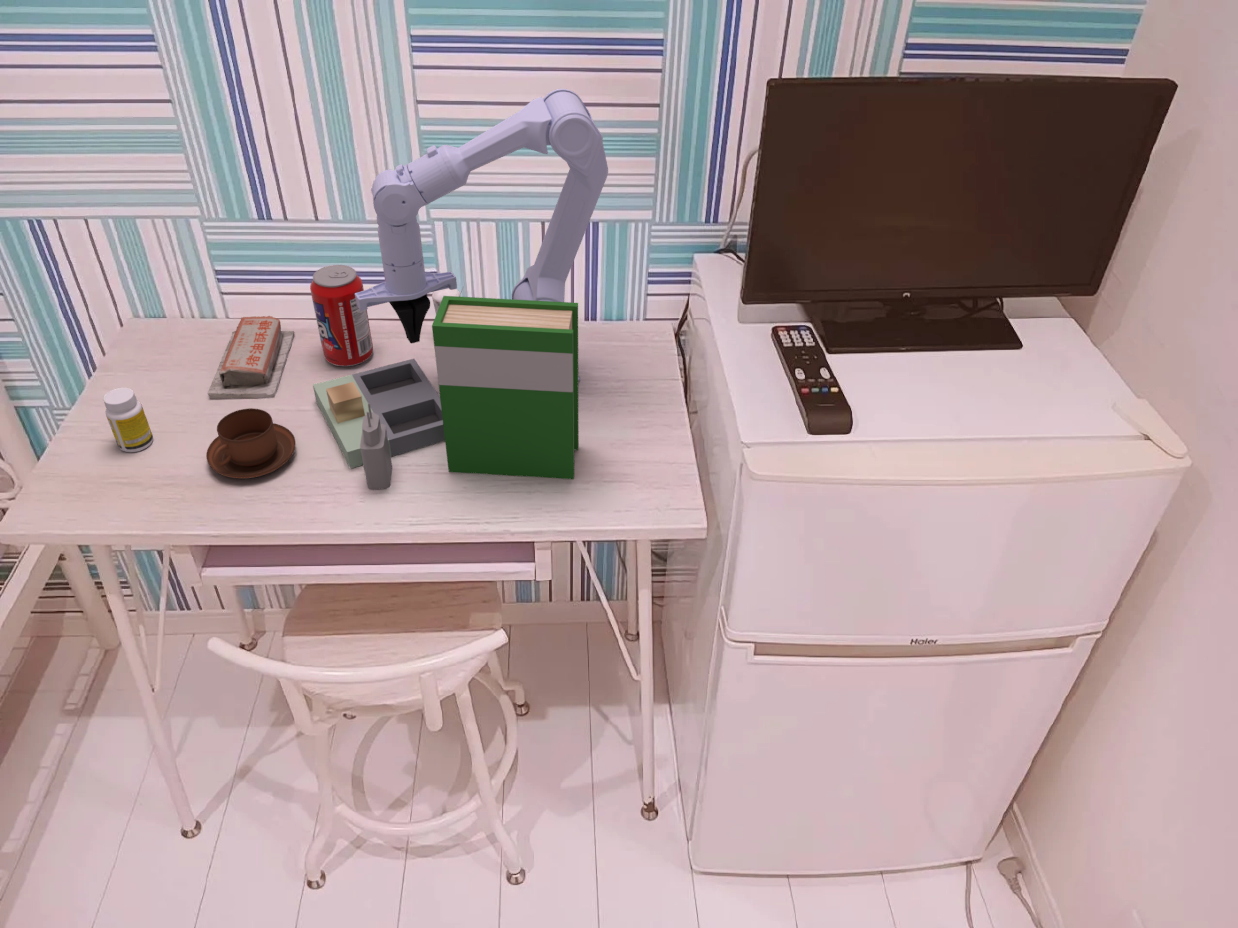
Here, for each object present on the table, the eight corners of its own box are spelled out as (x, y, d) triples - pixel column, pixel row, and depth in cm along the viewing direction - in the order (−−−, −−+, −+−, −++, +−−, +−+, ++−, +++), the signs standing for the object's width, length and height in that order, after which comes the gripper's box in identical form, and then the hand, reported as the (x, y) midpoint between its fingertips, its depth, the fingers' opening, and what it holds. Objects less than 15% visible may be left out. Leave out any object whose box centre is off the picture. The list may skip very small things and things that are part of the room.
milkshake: (463, 346, 163) (458, 293, 156) (432, 342, 164) (426, 289, 157) (472, 332, 166) (467, 280, 160) (441, 328, 167) (436, 276, 161)
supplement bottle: (161, 437, 143) (144, 390, 138) (138, 456, 139) (120, 408, 134) (133, 429, 144) (116, 382, 139) (111, 448, 141) (92, 401, 135)
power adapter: (366, 490, 135) (353, 420, 127) (370, 464, 139) (357, 396, 132) (390, 488, 135) (378, 419, 128) (392, 463, 140) (381, 395, 132)
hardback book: (578, 446, 144) (578, 302, 128) (573, 479, 138) (572, 333, 123) (458, 439, 144) (443, 295, 129) (448, 472, 139) (431, 325, 123)
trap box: (416, 374, 157) (414, 358, 155) (457, 437, 145) (455, 420, 143) (316, 400, 151) (312, 384, 149) (350, 468, 138) (347, 452, 137)
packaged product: (228, 313, 161) (290, 311, 162) (234, 338, 164) (295, 336, 165) (201, 376, 147) (269, 374, 148) (209, 402, 150) (275, 400, 151)
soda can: (373, 368, 157) (359, 286, 148) (322, 372, 156) (305, 289, 147) (374, 342, 163) (362, 260, 154) (326, 345, 162) (310, 263, 153)
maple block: (356, 401, 146) (353, 381, 143) (364, 415, 143) (361, 396, 141) (329, 408, 144) (325, 389, 142) (337, 423, 141) (333, 403, 139)
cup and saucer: (276, 491, 135) (266, 456, 131) (193, 480, 136) (182, 445, 132) (311, 437, 144) (303, 403, 140) (233, 428, 145) (223, 394, 141)
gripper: (441, 235, 144) (449, 315, 153) (343, 255, 138) (357, 337, 147) (459, 256, 139) (466, 337, 148) (358, 278, 134) (372, 361, 142)
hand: (413, 339), depth 147 cm, fingers closed
